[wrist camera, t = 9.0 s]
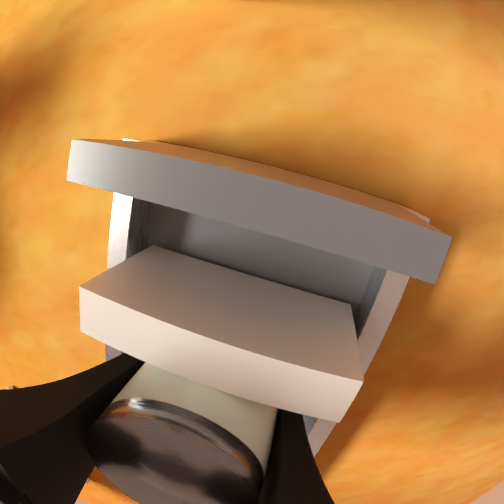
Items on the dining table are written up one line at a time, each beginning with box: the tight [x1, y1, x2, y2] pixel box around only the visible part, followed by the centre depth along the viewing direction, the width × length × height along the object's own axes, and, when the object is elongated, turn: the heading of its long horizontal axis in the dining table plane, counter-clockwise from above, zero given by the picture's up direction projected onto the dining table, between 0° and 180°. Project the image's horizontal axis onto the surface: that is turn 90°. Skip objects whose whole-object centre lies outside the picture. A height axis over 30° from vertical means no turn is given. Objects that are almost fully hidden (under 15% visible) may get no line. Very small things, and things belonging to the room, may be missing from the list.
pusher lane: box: [66, 138, 453, 457], centre depth 11 cm, size 18×10×6 cm, turn 166°
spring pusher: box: [79, 245, 364, 423], centre depth 9 cm, size 2×8×4 cm, turn 77°
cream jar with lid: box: [85, 362, 279, 504], centre depth 9 cm, size 5×5×6 cm
